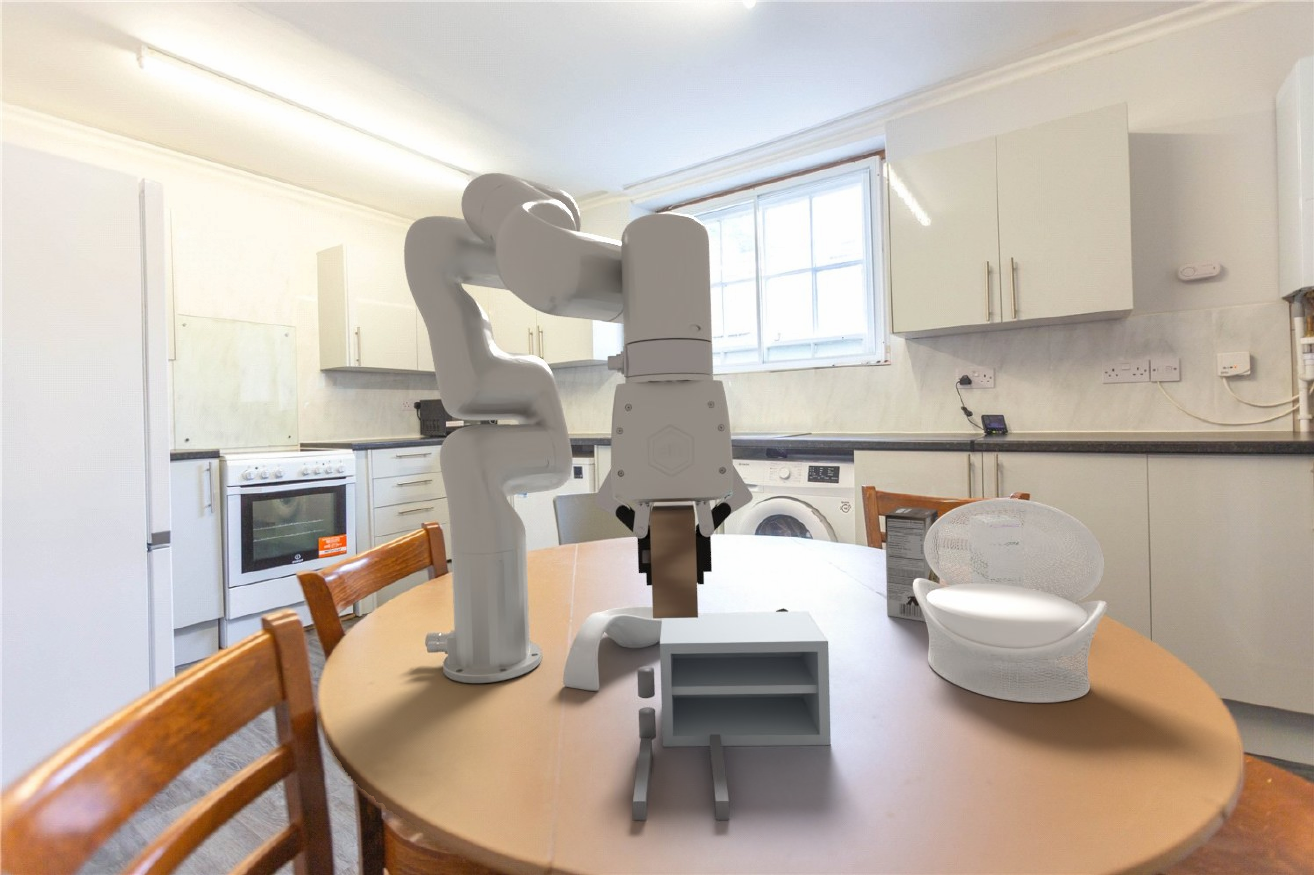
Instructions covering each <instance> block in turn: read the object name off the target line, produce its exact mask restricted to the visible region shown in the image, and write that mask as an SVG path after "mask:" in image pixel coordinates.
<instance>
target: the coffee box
mask: <svg viewBox="0 0 1314 875" xmlns="http://www.w3.org/2000/svg"><path fill="white" fill-rule="evenodd" d="M938 519H939V509H935V508H932V509H931V508H923V507H912V506H911V507H910V506H897V507H896V508H894V509H892V510H890V511H888V512H887V513H886V514H884V524H885V525H884V526H885V527H884V530H885V565H886V566H885V569H886V574H885V575H886V578H885V579H886V612H887V613H886V616H888V617H893V618H899V619H900V618H901V619H905V620H906V619H907V620H912V621H918V622H924V623H926V620H925V617H924V614H923V612H922V609H921V607H920V605H919V603H918V601H917V599H916V597H915V594H914V590H913V582H914V580H915V579H917V578H923V579H927V580H930V581H933V582H936V583H938V584H941V579H940V578H939V577H938V576H937V575H936V574H935V573H934V572H933V570H932V569H931V567H930V566H929V564H928V562H927V560H926V557H925V554H924V541H925V537H926V535H927V532H928V531H929V529H930V527H931V526H932V525H933V524H934V523H935V522H936V521H937V520H938ZM937 531H938V530H937ZM935 534H936V533H935ZM937 534H938V532H937ZM935 537H936V536H935ZM933 539H934V538H933ZM935 539H936V538H935ZM935 539H934V541H935ZM937 539H938V538H937ZM937 539H936V541H937ZM932 543H933V542H932ZM934 543H935V542H934ZM936 543H937V542H936ZM936 545H937V544H936ZM934 546H935V545H934ZM938 547H940V546H939V544H938ZM934 548H935V547H934ZM936 548H937V546H936ZM936 550H937V549H936ZM938 550H940V549H939V548H938ZM932 551H933V550H932ZM934 552H935V550H934ZM937 552H938V551H937ZM930 554H931V552H930ZM937 554H938V553H937ZM939 554H940V553H939ZM939 554H938V555H939ZM932 556H933V555H932ZM934 556H935V555H934ZM932 559H933V558H932ZM938 559H939V558H938ZM938 559H937V560H938ZM937 562H938V561H937ZM938 563H939V562H938ZM924 588H925V587H924ZM928 589H929V588H928ZM926 590H927V589H926ZM934 590H935V588H934ZM928 593H930V592H928ZM923 595H924V594H923ZM925 597H926V596H925ZM924 599H925V598H924ZM926 601H927V599H926Z"/></svg>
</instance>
